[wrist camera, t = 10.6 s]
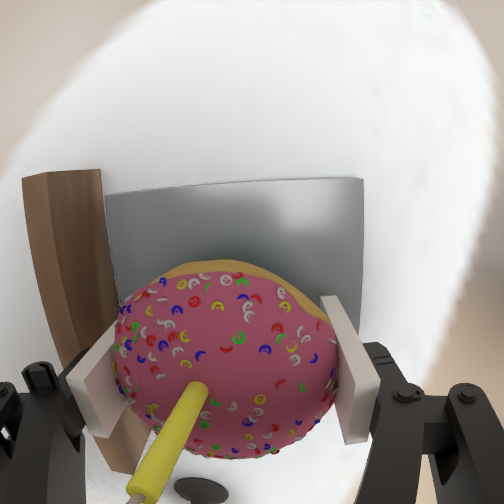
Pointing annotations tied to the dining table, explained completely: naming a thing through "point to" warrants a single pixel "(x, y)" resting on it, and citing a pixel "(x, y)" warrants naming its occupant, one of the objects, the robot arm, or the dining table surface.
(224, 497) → the sundae
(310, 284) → the board
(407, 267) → the dining table surface
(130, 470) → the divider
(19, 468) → the robot arm
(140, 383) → the cupcake
